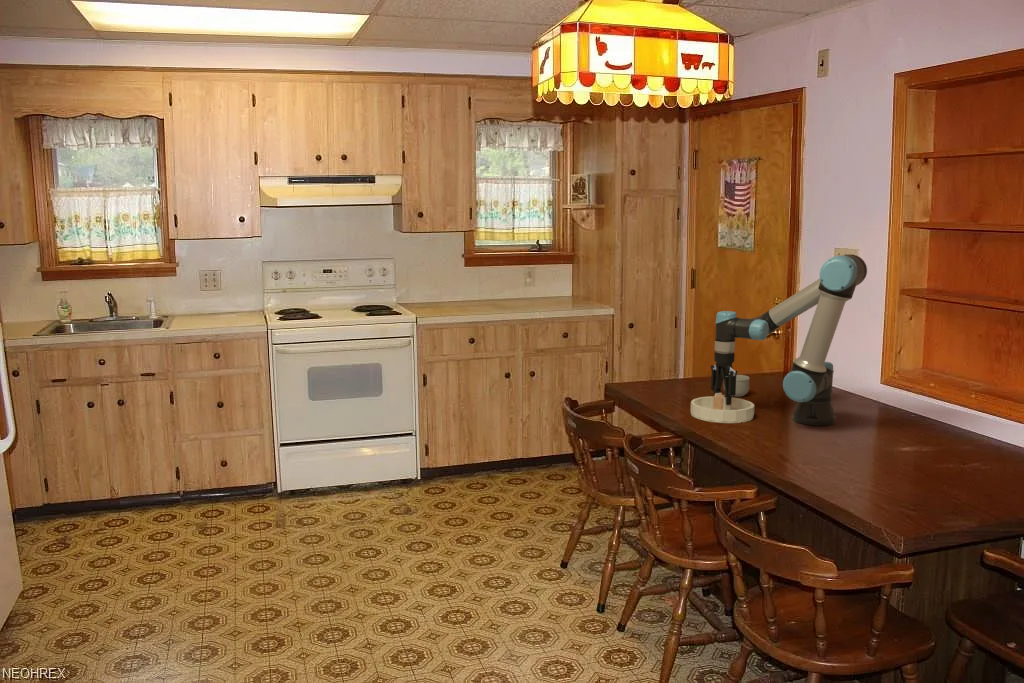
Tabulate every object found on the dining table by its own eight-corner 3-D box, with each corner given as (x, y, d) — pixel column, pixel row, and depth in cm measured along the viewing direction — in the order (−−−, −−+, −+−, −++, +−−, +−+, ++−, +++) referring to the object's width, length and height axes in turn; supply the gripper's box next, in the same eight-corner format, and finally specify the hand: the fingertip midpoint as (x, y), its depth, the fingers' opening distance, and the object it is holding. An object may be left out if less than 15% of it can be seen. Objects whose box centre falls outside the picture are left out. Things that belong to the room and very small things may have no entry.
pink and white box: (731, 412, 335) (732, 397, 334) (720, 414, 333) (721, 398, 332) (723, 409, 340) (724, 394, 339) (712, 411, 338) (713, 395, 337)
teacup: (751, 398, 366) (752, 379, 364) (725, 398, 366) (726, 379, 364) (743, 390, 379) (744, 372, 378) (718, 390, 380) (719, 372, 378)
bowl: (766, 419, 331) (766, 407, 330) (714, 425, 322) (715, 413, 321) (728, 406, 352) (728, 394, 351) (679, 411, 343) (679, 399, 342)
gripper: (747, 355, 326) (744, 415, 330) (718, 347, 342) (716, 405, 346) (731, 356, 323) (728, 417, 327) (702, 348, 339) (700, 406, 343)
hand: (722, 411), depth 337 cm, fingers closed on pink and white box, 5 cm apart
